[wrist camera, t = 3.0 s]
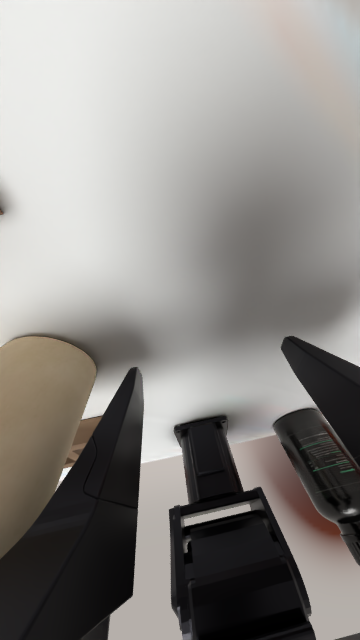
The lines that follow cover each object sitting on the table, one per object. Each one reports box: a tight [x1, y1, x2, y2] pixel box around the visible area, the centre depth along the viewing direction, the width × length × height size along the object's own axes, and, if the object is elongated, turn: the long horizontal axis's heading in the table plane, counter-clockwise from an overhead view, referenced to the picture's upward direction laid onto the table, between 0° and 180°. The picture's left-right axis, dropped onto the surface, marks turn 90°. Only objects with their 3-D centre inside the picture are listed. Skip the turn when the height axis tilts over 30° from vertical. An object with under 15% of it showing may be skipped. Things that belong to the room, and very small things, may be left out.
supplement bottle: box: [274, 409, 360, 565], centre depth 20 cm, size 7×7×12 cm
